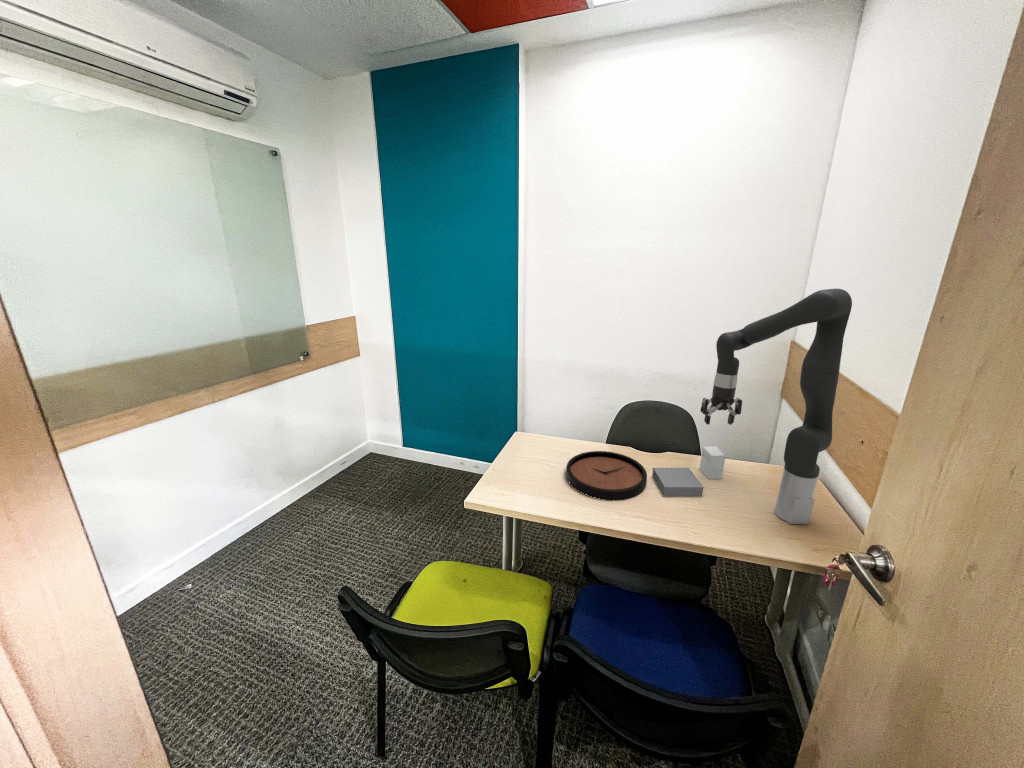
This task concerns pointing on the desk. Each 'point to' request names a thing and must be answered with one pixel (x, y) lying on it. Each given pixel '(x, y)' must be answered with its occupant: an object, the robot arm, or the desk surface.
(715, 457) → the small box
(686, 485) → the base block
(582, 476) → the wall clock
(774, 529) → the desk surface
